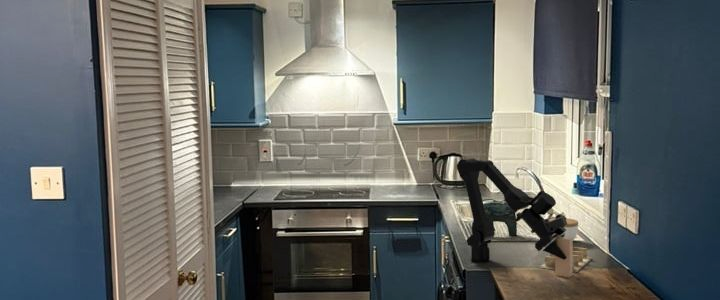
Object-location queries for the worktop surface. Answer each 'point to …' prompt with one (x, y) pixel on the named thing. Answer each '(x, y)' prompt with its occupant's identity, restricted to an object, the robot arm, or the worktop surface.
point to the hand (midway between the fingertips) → (568, 256)
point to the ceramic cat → (501, 214)
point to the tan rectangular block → (566, 265)
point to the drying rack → (578, 259)
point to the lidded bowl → (570, 228)
